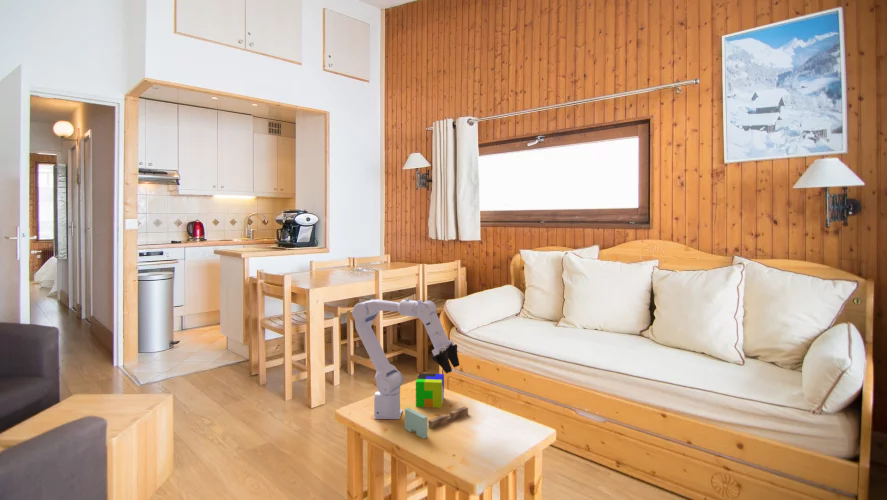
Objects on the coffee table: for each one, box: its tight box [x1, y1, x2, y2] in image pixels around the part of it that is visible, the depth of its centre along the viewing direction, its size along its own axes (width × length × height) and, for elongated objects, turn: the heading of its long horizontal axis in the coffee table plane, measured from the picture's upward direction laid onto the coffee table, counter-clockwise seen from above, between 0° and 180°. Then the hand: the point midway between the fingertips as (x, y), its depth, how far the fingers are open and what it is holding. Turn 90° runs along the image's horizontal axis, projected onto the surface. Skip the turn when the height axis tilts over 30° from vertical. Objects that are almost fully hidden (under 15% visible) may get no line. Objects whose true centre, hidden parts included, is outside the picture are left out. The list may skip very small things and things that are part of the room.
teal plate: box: [404, 407, 428, 439], centre depth 159 cm, size 10×2×7 cm, turn 43°
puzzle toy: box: [415, 372, 445, 409], centre depth 186 cm, size 10×10×10 cm
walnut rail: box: [427, 405, 469, 430], centre depth 169 cm, size 18×2×3 cm, turn 132°
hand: (453, 369), depth 162 cm, fingers open, 7 cm apart
